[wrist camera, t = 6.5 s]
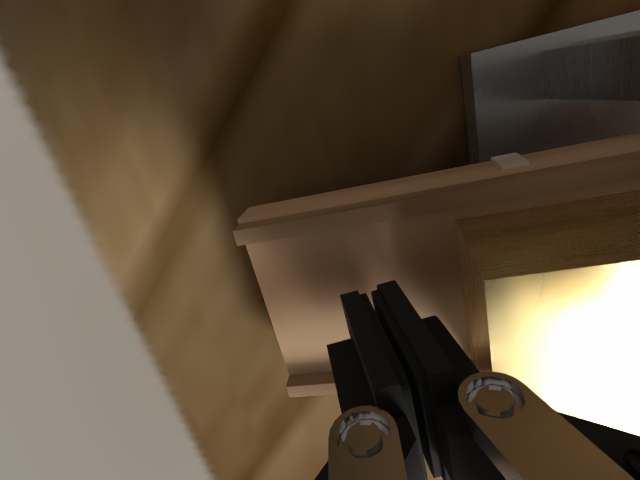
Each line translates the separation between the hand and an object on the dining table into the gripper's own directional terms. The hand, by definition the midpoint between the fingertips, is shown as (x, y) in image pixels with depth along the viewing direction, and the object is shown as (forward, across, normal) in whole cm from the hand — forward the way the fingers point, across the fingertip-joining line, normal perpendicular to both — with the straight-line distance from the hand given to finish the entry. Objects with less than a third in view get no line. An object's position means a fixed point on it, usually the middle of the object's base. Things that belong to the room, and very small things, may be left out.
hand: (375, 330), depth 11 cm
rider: (0, -6, 0) cm, 6 cm away
